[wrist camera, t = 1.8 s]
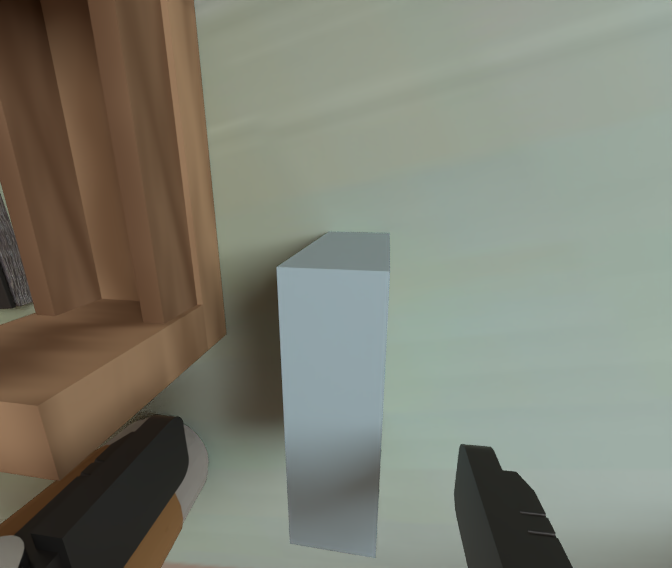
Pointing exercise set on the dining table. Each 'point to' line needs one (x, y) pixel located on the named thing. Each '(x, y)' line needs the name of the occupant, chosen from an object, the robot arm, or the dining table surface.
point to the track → (102, 220)
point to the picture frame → (11, 267)
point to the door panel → (334, 387)
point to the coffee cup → (168, 524)
